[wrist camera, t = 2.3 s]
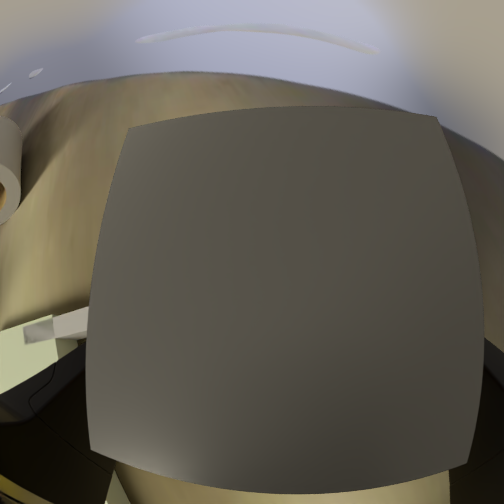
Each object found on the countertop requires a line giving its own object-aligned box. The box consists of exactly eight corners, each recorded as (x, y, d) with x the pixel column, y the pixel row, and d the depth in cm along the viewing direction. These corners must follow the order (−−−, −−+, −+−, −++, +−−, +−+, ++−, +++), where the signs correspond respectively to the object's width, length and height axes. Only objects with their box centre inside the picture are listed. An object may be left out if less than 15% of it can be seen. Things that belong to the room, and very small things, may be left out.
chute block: (338, 371, 15) (487, 483, 1) (244, 370, 15) (67, 467, 2) (338, 279, 16) (452, 97, 3) (247, 279, 17) (111, 111, 4)
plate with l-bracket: (267, 539, 11) (263, 558, 9) (51, 508, 12) (37, 514, 10) (183, 285, 17) (166, 276, 15) (-1, 339, 19) (-18, 337, 16)
